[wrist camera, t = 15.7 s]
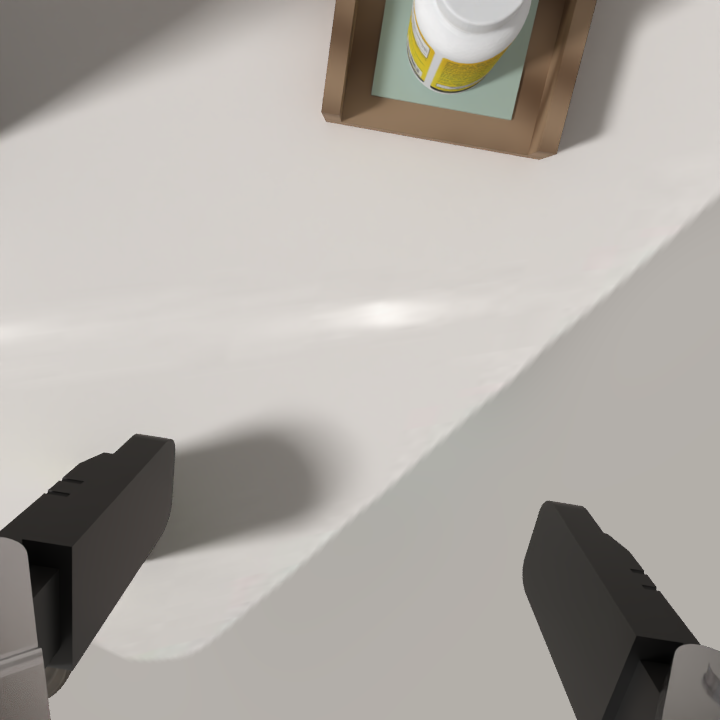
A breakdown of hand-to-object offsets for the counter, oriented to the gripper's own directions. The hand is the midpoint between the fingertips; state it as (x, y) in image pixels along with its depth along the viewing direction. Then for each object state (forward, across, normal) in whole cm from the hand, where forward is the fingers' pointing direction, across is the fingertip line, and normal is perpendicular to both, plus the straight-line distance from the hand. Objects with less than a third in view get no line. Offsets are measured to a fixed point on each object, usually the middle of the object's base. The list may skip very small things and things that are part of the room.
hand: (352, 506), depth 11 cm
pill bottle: (+29, -3, -18) cm, 34 cm away
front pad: (+29, -3, -18) cm, 34 cm away
